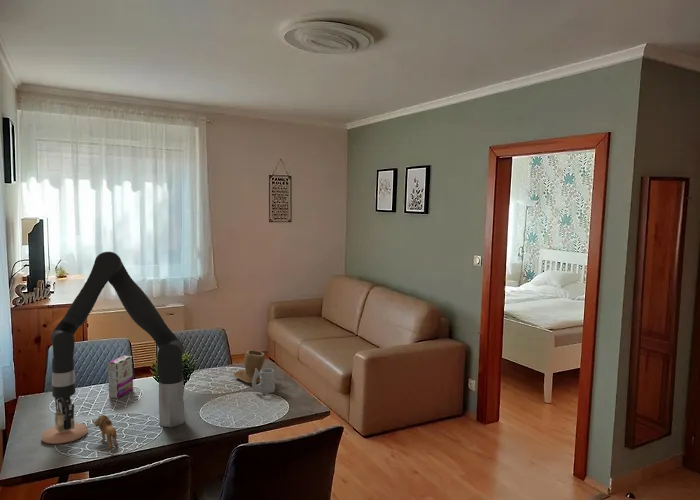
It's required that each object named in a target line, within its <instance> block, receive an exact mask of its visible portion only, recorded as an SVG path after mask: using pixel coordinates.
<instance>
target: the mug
mask: <svg viewBox="0 0 700 500" xmlns="http://www.w3.org/2000/svg"><path fill="white" fill-rule="evenodd" d="M259 375H260V382H258V384H257V383H256V379H257V377H258V376H259ZM275 378H276V375H275V370H274V369H273V368H269V367H268V368H261V370H260V373H259V371H258V370H257V368H255V373H254V377H253V380H252V383H251V387H252V389H253V390H254V392H257V391H258V389H259V392H260V393H262V394H272V393H274V392H275V390H276V385H275Z"/></svg>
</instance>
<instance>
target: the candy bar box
mask: <svg viewBox="0 0 700 500" xmlns="http://www.w3.org/2000/svg"><path fill="white" fill-rule="evenodd" d="M107 376H108V377H107V378H108V398H110V399H120V398H122V397H123V396H125V395H126V394H128V393H130V392H133V391H134V382H133V381H134V379H133V378H134V377H133V356H132V355H121V356H119V357H117V358H115V359H113V360H111V361H109V362H107Z"/></svg>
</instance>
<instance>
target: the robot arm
mask: <svg viewBox="0 0 700 500" xmlns="http://www.w3.org/2000/svg"><path fill="white" fill-rule="evenodd" d="M94 259H95V260H94V264H93V266H92V269H91V270H90V274H89V275H88V277H87V280H86V281H85V283H84V285H83V286H82V288H81V290H80V291H79V293H78V294H77V296H76V297H75V298H74V300H73V301H72V303H71V305H70V306H69V308H68V309H67V311H66V313H65V314H64V317H63V318H62V319H61V320H60V321H59V323H58V324H57V325H56V327H55V328H54V330H53V331H52V333H51V334H50V341H51V344H52V363H51V365H52V367H51V370H52V373H51V393H52V394H51V395H52V397H53V398H54V401H55V402H54V403H55V413H56V412H60V411H61V414H63V419H64V429H65V430H67V429H70V428H71V419H72V418H73V416H74V417H75V403H73V401H72V398H71V397H72V396H73V395H75V394H76V372H75V359H74V358H75V357H74V354H75V334H76V332H77V330H79V327H81V326H83V325H84V323H85V322H86V320H87V318H88V317H89V315H90V313H91V311H92V310H93V309H94V306H95V304H96V303H97V301H98V299H99V297H100V294H101V293H102V291H103V289H104V288H105V286H106V285H107V284H108V282H109V284H110V285H111V287H113V289H114V290H115V292H116V295H117V296H118V298H119V300H120V303H121V304H122V306H123V307H124V309H125V311H126V313H128V315H129V317H130V318H131V319H132V320H133V321H134V323H135V324H136V325H137V326H139V328H141V329H142V330H143V331H144V332H146V333H147V334H148V335H149V336H150V337H151V338H152V339H153V341H154V343H155V344H156V346H157V348H158V351H157V357H156V359H157V377H158V414H159V415H158V417H159V418H158V421H159V422H158V424H159V426H161V427H165V428H173V427H176V426H180V425H182V424H185V400H184V373H183V355H184V354H185V348H184V344H183V342H182V341H181V340H180V339H179V338H178V337H177V336H176V334H175V333H173V331H172V330H171V329H170V328H169V326H168V325H167V324H166V323H165V321H164V320H165V319H163V317H162V316H161V314H160V313H159V311H158V310H157V308H156V307H155V304H154V303H153V302H152V301H151V299H150V298H149V297H148V295H147V294H146V293H145V292H144V291H143V289H142V288H141V287H140V286H139V285H138V284H137V283H136V282H135V281H134V280H133V278H132V277H131V276H130V274H129V272H128V270H127V269H126V267H125V265H124V263H123V261H122V258H120V256H119V255H118V254H117V253H115V252H114V251H107V250H106V251H102V252H100V253H99V254H98V255H96V257H95V258H94ZM64 410H66V411H64ZM68 414H69V416H68Z"/></svg>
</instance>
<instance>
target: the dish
mask: <svg viewBox="0 0 700 500" xmlns="http://www.w3.org/2000/svg"><path fill="white" fill-rule="evenodd" d="M87 433H88V426H87V425H86V424H84V423H78V422H74V429H71V430H67V431H63V432H59V431H58V430H57V429H56V428H55V426H53V427H50V428H48V429H46V430H45V431H44V432H42V433H41V438H40V439H41V441H42V442H44V443H46V444H51V445H57V444H64V443H65V444H66V443H70V442H73V441H76V440H79V439H81V438H83V437H84V436H85V435H87Z"/></svg>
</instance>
